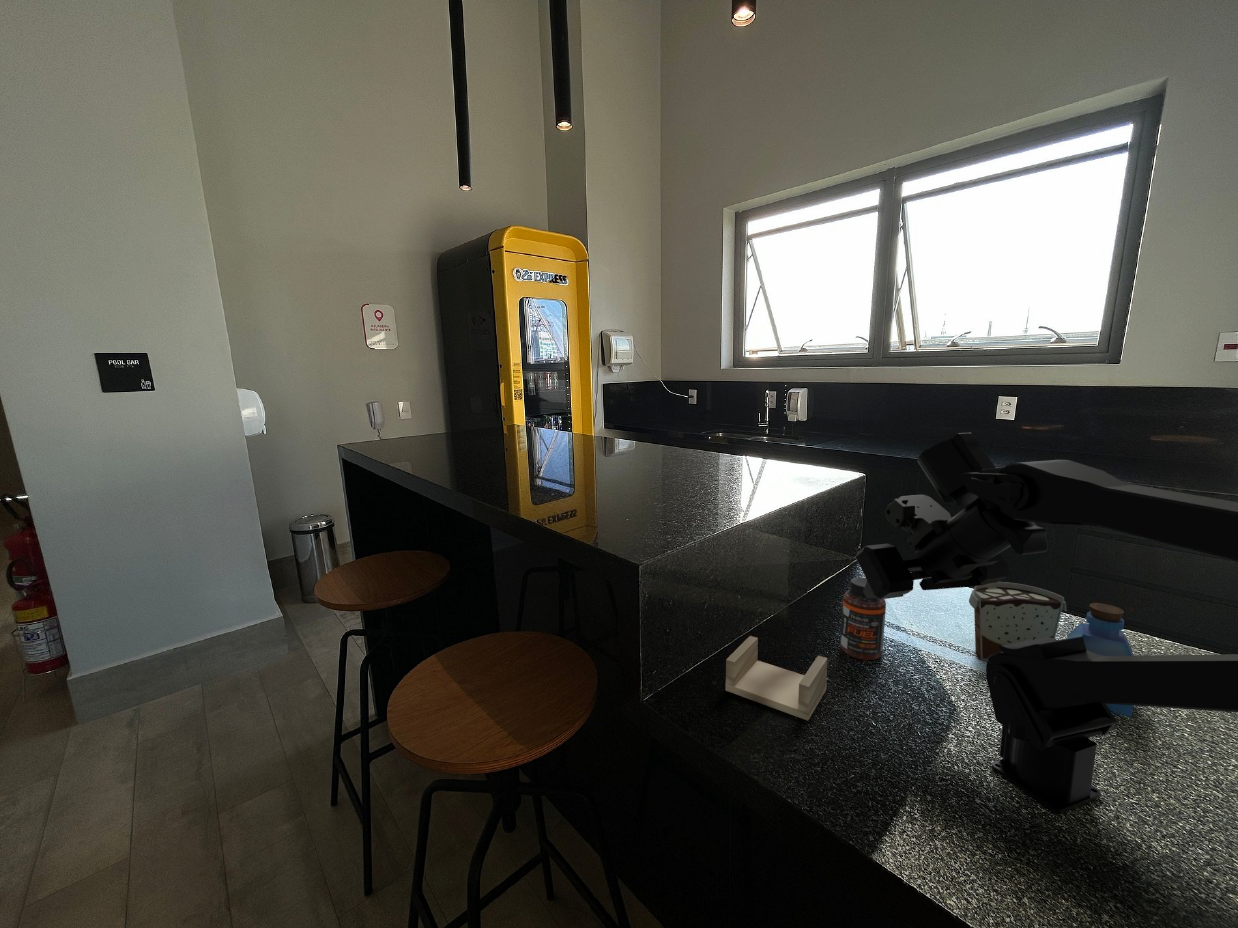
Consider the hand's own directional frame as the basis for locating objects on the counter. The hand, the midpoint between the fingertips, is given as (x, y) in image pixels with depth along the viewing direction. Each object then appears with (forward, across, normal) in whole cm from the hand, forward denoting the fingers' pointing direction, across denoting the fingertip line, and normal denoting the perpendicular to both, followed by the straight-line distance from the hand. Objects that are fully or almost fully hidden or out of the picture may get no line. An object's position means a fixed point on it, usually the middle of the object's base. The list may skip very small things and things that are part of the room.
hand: (894, 590), depth 71 cm
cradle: (+9, +18, +8) cm, 21 cm away
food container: (+9, -20, +9) cm, 24 cm away
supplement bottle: (+13, 0, +5) cm, 14 cm away
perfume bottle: (0, -21, +17) cm, 27 cm away
